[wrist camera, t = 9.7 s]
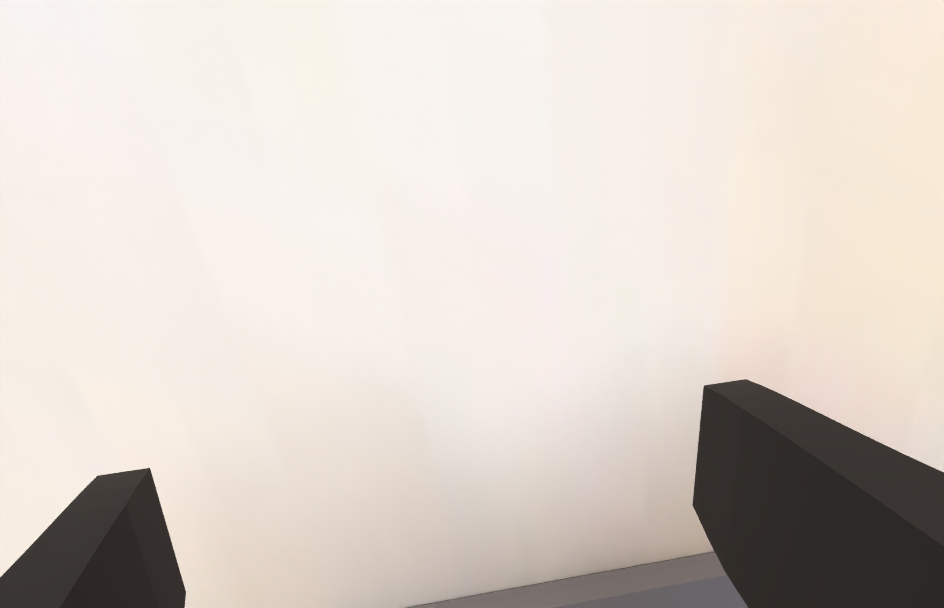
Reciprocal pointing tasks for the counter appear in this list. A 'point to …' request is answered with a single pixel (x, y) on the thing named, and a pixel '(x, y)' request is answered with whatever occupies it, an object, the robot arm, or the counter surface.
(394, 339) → the counter surface
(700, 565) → the mounting socket
